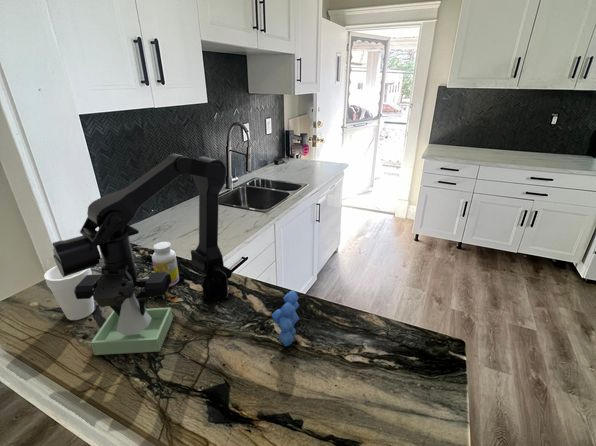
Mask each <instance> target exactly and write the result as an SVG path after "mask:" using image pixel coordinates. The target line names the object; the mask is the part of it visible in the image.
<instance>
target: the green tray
mask: <svg viewBox="0 0 596 446" xmlns="http://www.w3.org/2000/svg"><path fill="white" fill-rule="evenodd" d="M172 311H173V310H172V307H157V308H156V307H154V308H146V312H147V313H148V314H149V315H150V317H151V318H152V319H151V321H150V324H149V326H148V327H147V328H145V329H144V330H142V331H141V332H139V333H138V334H128V335H124V334H122V333H120V332H119V331H117V325H118V321H119V316H118V315H117V314H116V312H115V311H114V310H113V309H112V311H111V313H110V314H109V316H108V317H107V318H106V320H105V321H104V323H103V324H102V325H101V327H100V328H99V330H98V331H97V332H96V334H95V336H94V337H93V338H92V339H91V341H90V346H91V349H92V352H93V355H94V356H104V355H105V356H107V355H122V354H140V353H155V352H157V353H158V352H161V349H162V347H163V345H164V342H165V339H166V337H167V335H168V332H169V330H170V327H171V325H172V322H173V319H174V317H173V312H172Z"/></svg>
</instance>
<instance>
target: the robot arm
mask: <svg viewBox="0 0 596 446" xmlns="http://www.w3.org/2000/svg"><path fill="white" fill-rule="evenodd" d="M183 174H187V175H192V178H193V181H194V184H195V186H196V189H197V191H198V245H197V246H196V248H195V249H191V250H190V255H191V259H190V262H189V263H190V264H191V265H192V268H193V269H194V270H196V271H197V272H199V274H202V275H203V279H202V282H201V285H202V293H203V294H202V295H204V298H203V300H204V301H215V300H227V299H228V298H229V294H230V284H229V279H232V275H233V270H232V269H230V268H228V267H226V265H224V256H223V254H222V251H221V249H220V247H219V244H218V243H219V203H220V202H219V199H220V198H219V197H220V192H221V191H222V189H223V187H224V186H225V183H226V177H227V167H226V164H224V162H223V161H222V160H220V159H216V158H213V157H208V156H203V155H202V156H199V157H197V158H193V157H188V156H185V155H182V154H178V153H171V154H169V155H168V156H167V157H166V158H165V159H164V160H163V161H161V162H159V163H158V164H157V165H155V166H154V167H153V168H151V169H150V170H149V171H147V172H145V173H144V174H143V175H141V176H140V177H138V178H137V179H136V180H135V181H132V183H130V184H129V185H128V186H126V187H125V188H122V189H120V190H116V191H114V192H110V193H108V194H105V195H103V196H102V197H99V198H97V199H95V200H93V201H92V202H91V203H90V204H89V205H88V207H87V213H86V214H87V217H86V219H85V221H84V222H83V225H82V227H81V228H80V231H79V233H80V234H81V235H79V236H76V237H72V238H68V239H65V240H58V241H54V242H52V243H51V244H52V247H53V249H52V250H53V251H52V252H53V257H52V258H53V259H54V262H55V266H57V267H58V269H59V271H60V273H61V275H62V276H63V277H65V276H68V275H71V274H74V273H77V272H80V271H83V270H85V269H88V268H90V269H91V268H94V267H97V265H100V260H101V259H102V263H103V266H102V267H101V268H100V270H101V272H100V273H101V274H91V275H86V276H85V278H84V279H83V280H82V281H81V282H80V283H79V284H78V285H77V286H76V287H75V289H74V293H75V296H76V298H77V299H90V298H91V297H92V296H93V299H94V302H96V303H97V305H98V306H99V307H100V308H106V307H109V308H110V309H112V311H113V310H114V311H115V312H116V314H117V315H118V316H119V317H120V311H121V305H122V304H123V302H124V301H125V300H126V299H127V298H131V297H132V296H133V293H134V294H135V290H136V289H138V293H137V294H136V295H135V297H136V299H137V301H138V302H139V307H140V312H141V315H142V316H143V315H144V314H145V311H146V309H147V307H148V301H149V298H151V297H157V296H158V297H159V296H163V295H165V294H166V293H167V291H168V290H169V288H170V287H169V285H170V283H171V275H170V274H169V273H168V272H154V271H153V272H151V273H150V274H149V276H145V277H142V278H139V275H140V274H141V273H140V269H137V267H136V262H135V261H136V259H137V255H136V254H135V253H133V250H132V244H131V241H130V237H131V236H134V235H137V234H139V232H140V231H139V229H137V228H135V227H133V226H131V225H130V224H129V223H131V221H132V220H133V219H134V218H135V217H136V215H137V213H138V211H139V210H140V208H141V207H142V206H143V204H145V203H146V202H147V201H149V200H150V199H151V198H153V197H154V196H155V195H156V194H158V193H159V192H161V191H162V190H163V189H164V188H165V187H167V186H168V185H170V184H171V183H172V182H173V181H175V180H176V179H177V178H179V177H181V175H183ZM97 228H98V230H97Z"/></svg>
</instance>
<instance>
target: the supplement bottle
mask: <svg viewBox="0 0 596 446" xmlns="http://www.w3.org/2000/svg"><path fill="white" fill-rule="evenodd" d="M152 248H153V251H154V252H153V254H152V255H151V261H152V267H153V272H168V273H169V274H170V275H171V283H170V285H169V287H168V288H170V287H172V286H175V285H177V283H178V282H179V281H180V273H179V268H178V261H177V255H176V252H175V251H174V250H173V249H172V245H171V243H170V242H169V241H160V242H157V243H155V244H154V245H153V247H152Z"/></svg>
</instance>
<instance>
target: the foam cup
mask: <svg viewBox="0 0 596 446" xmlns="http://www.w3.org/2000/svg"><path fill="white" fill-rule="evenodd" d="M86 275H93V274H92V269H91V268H88V269H85V270H83V271H80V272H77V273H74V274H71V275H68V276H65V277H63V276H62V275H61V273H60V271H59V269H58V267H57V265H55V266H53V267H51V268H50V269H48V270H46V272H45V273H44V274H43V278H44V280H45V283H46V287H47V288H49V289H50V291H51V293H52V295H53V297H54V298H55V301H56V302H57V304H58V305H59V307H60V309H61V311H62V313H63V314H64V316H65V317H66V318H67V320H70V321H78V320H81V319H85V318H86V317H89V316H90V315H91V314H92V313H93V312H94V311H95V300H94V299H93V296H92V297H91V298H90V299H77V298H76V296H75V293H74V289H75V287H76V286H77V285H78V284H79V283H80V282H81V281H82V280H83V279H84V278H85V276H86Z"/></svg>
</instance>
